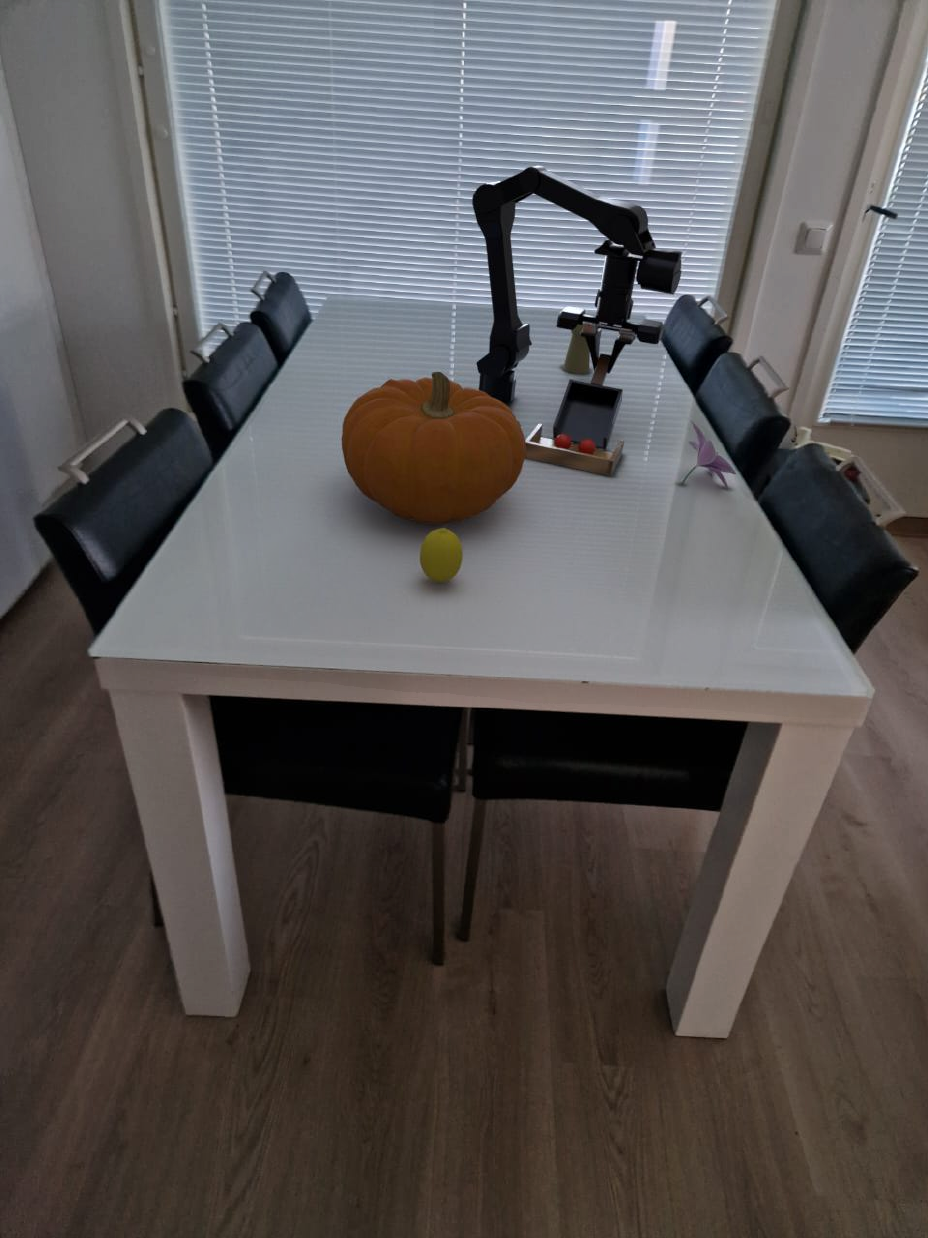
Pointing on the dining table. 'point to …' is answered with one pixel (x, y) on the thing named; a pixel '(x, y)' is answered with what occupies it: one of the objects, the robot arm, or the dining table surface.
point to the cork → (577, 353)
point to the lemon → (441, 555)
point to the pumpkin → (432, 449)
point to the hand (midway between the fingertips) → (602, 371)
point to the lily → (709, 457)
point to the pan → (589, 408)
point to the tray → (571, 454)
